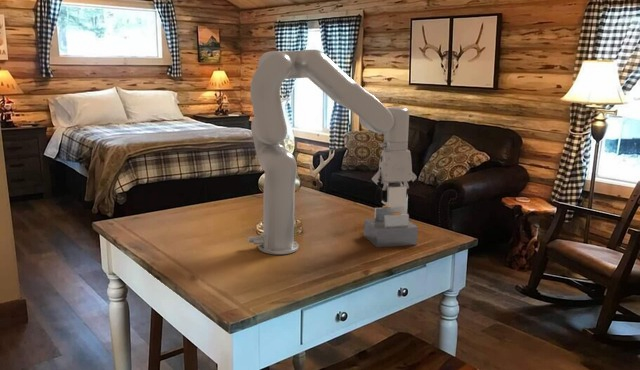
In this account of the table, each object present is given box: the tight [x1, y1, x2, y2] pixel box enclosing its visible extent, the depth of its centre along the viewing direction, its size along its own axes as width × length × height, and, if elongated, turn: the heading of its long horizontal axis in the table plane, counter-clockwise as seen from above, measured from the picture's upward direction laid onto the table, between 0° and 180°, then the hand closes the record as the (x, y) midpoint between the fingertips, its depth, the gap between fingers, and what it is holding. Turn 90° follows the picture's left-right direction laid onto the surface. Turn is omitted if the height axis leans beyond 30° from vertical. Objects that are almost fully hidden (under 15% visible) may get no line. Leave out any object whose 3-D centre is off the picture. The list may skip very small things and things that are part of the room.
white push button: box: [381, 182, 408, 207], centre depth 180 cm, size 6×6×7 cm
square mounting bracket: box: [363, 205, 419, 248], centre depth 183 cm, size 16×12×11 cm
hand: (393, 200), depth 181 cm, fingers closed on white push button, 6 cm apart
